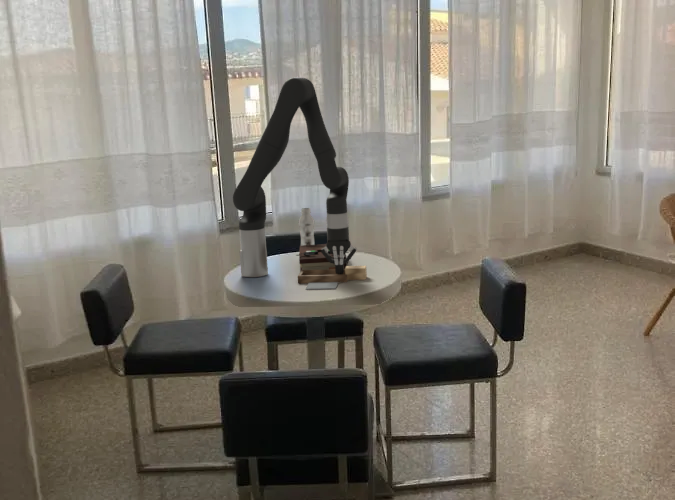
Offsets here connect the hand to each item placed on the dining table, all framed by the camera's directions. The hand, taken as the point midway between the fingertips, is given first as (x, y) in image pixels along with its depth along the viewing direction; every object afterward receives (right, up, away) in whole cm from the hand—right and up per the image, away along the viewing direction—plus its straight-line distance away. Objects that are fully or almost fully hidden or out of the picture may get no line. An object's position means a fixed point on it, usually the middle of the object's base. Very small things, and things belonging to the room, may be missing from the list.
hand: (339, 274), depth 247 cm
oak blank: (+6, -1, 0) cm, 6 cm away
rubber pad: (-6, -4, -8) cm, 11 cm away
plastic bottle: (-12, +5, +37) cm, 39 cm away
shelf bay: (-6, -2, +1) cm, 6 cm away
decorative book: (-6, +2, +20) cm, 21 cm away
